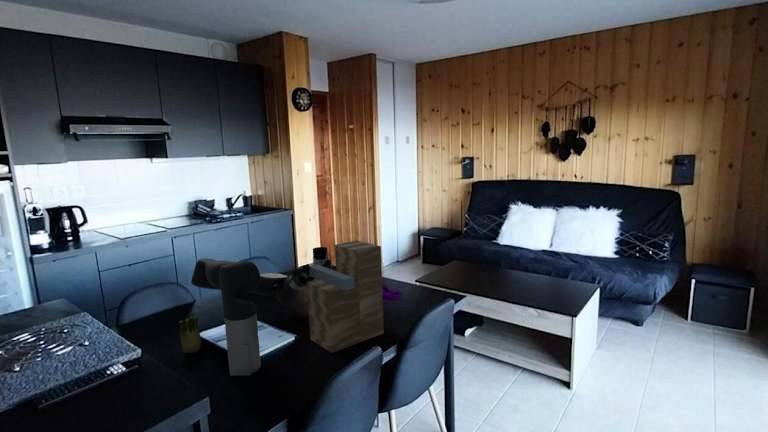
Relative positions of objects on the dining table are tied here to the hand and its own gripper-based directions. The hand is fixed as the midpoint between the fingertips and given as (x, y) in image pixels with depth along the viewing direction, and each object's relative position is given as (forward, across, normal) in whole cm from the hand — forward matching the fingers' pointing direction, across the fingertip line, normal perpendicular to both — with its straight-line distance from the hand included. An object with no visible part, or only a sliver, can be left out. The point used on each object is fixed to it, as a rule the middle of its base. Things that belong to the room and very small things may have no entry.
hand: (319, 264), depth 150 cm
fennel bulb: (-28, +40, -14) cm, 51 cm away
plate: (-76, -9, +14) cm, 78 cm away
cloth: (-26, -41, -16) cm, 51 cm away
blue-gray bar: (+4, 0, -8) cm, 9 cm away
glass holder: (-65, -37, +8) cm, 75 cm away
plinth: (-6, -5, -26) cm, 28 cm away
